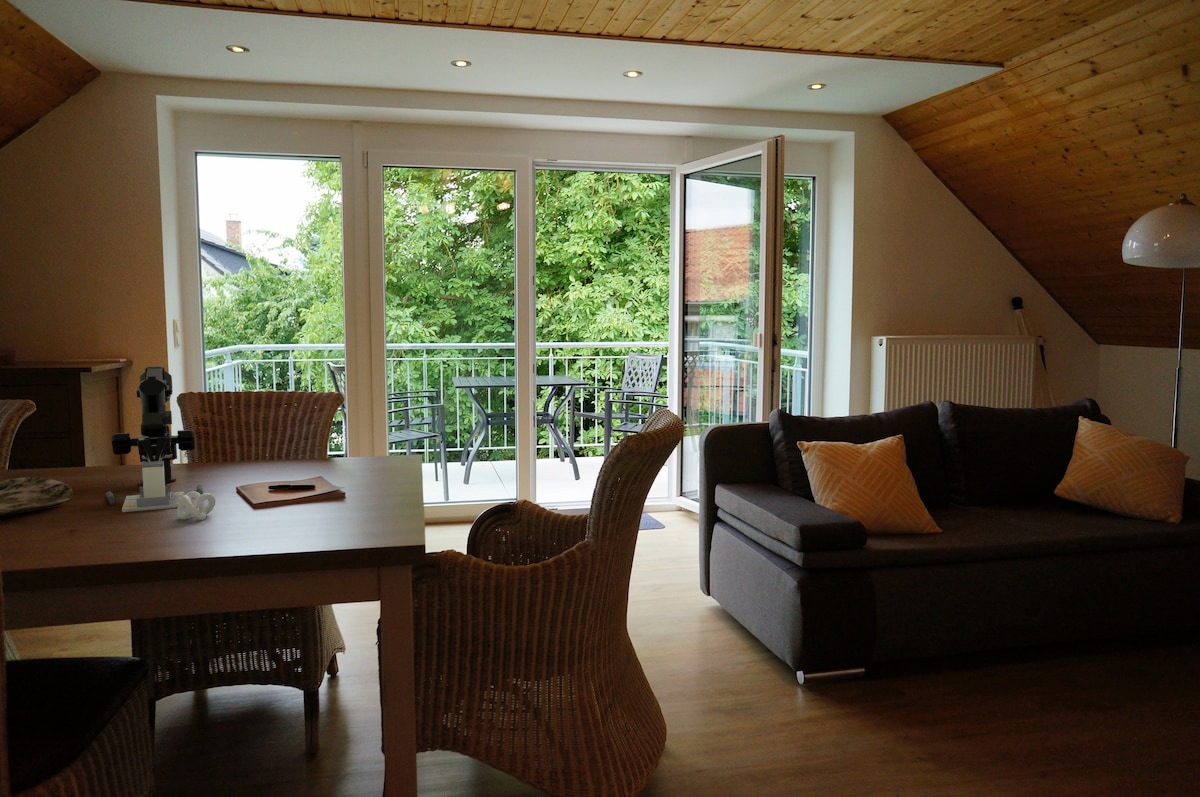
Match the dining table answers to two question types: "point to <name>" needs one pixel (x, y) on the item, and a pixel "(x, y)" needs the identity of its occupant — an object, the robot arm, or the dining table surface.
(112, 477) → the dining table surface
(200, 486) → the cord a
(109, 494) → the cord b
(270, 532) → the dining table surface
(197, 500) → the knot
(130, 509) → the panel
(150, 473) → the grey upright block
